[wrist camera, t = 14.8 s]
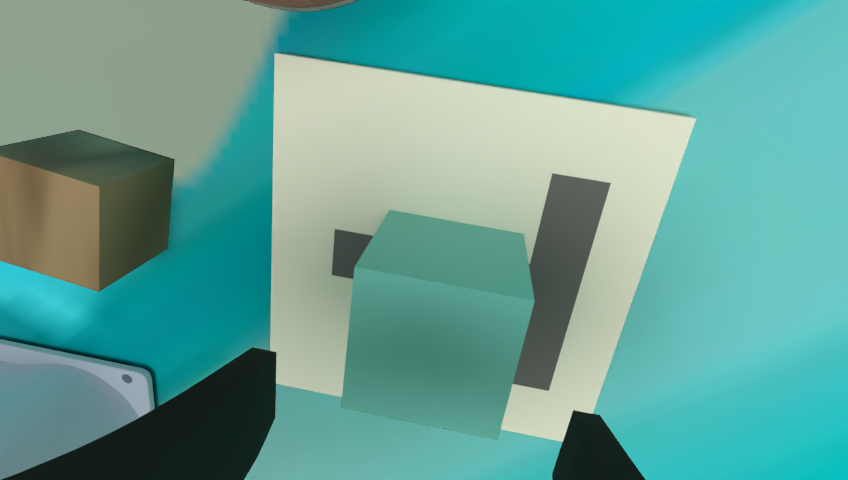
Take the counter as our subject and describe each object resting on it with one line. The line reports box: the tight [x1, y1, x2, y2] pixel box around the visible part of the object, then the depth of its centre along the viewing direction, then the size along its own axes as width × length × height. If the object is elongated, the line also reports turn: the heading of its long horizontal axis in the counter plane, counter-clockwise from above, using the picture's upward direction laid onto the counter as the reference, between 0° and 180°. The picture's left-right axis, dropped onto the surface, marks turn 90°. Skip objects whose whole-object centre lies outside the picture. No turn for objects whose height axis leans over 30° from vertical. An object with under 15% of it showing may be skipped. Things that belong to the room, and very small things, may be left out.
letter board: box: [270, 53, 696, 442], centre depth 19 cm, size 14×14×1 cm
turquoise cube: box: [341, 210, 535, 440], centre depth 17 cm, size 5×5×5 cm
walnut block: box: [0, 130, 175, 292], centre depth 18 cm, size 4×4×4 cm
